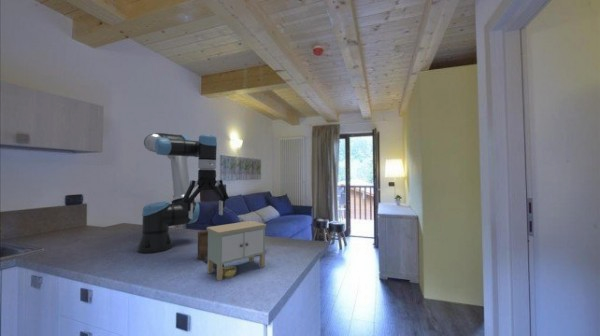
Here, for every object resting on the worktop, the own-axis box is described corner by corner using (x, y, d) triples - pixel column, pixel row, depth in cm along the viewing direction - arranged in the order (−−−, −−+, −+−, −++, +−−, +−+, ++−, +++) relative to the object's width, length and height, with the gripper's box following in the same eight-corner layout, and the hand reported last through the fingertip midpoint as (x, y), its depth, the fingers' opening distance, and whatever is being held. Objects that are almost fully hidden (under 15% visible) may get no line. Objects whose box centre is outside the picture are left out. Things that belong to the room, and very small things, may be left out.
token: (217, 274, 93) (217, 268, 93) (231, 270, 97) (231, 264, 97) (224, 280, 88) (224, 273, 88) (239, 275, 92) (239, 269, 92)
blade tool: (197, 257, 111) (197, 231, 111) (206, 255, 113) (206, 230, 114) (215, 270, 96) (215, 240, 96) (224, 268, 99) (225, 238, 99)
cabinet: (205, 272, 95) (206, 227, 95) (252, 259, 109) (252, 220, 109) (218, 282, 86) (219, 232, 86) (267, 267, 100) (267, 224, 100)
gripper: (180, 169, 98) (179, 221, 98) (236, 169, 115) (235, 214, 115) (174, 168, 104) (173, 218, 103) (229, 169, 120) (228, 212, 120)
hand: (206, 216), depth 109 cm, fingers open, 13 cm apart
